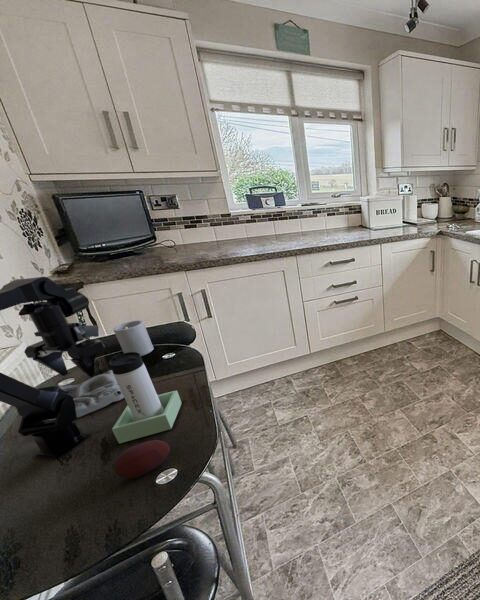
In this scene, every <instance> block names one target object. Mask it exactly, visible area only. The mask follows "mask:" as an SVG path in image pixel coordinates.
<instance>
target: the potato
mask: <svg viewBox="0 0 480 600" xmlns="http://www.w3.org/2000/svg"><path fill="white" fill-rule="evenodd" d="M170 452H171V447H170V446H169V444H168V443H167V442H165V441H164V440H159V439H154V440H152V439H151V440H147V441H145V442H141V443H138V444H136V445H132V446H131V447H130V448H127V449H126V450H124V451H123V452H122V453H121V454H120V455H119V456H118V457H117V458H116V460H115V461H114V463H113V472H114V473H115V474H116V475H117V476H118V477H120V478H123V479H127V480H128V479H129V480H130V479H136V478H140V477H143V476H144V475H146V474H148V473H149V472H151V471H153V470H155V469H156V468H157V467H159V466H160V465H161V464H162V463H164V461H165V460H166V459H167V458H168V456H169V455H170Z"/></svg>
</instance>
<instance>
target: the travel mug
mask: <svg viewBox="0 0 480 600" xmlns="http://www.w3.org/2000/svg"><path fill="white" fill-rule="evenodd" d="M108 365H109V367H110V370H112V371H113V374H114V377H115V379H116V381H117V383H118V385H119V387H120V389H121V392H122V394H123V396H124V398H123V399H124V400H125V402H126V404H127V405H128V407H129V409H130V411H131V413H132V415H133V417H134V419H135V421H139V420H143V419H147V418H150V417H154V416H158V415H161V414H163V413H164V410H163V408H162V405H161V403H160V400H159V398H158V396H157V395H158V393H157V391H156V389H155V387H154V384H153V382H152V379H151V377H150V374H149V372H148V370H147V367H146V365H145V363H144V361H143V359H142V356H140V354H139V353H137V352H128V353H124V352H123V353H116V354H115V355H113V356H111V359H109V361H108Z"/></svg>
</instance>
